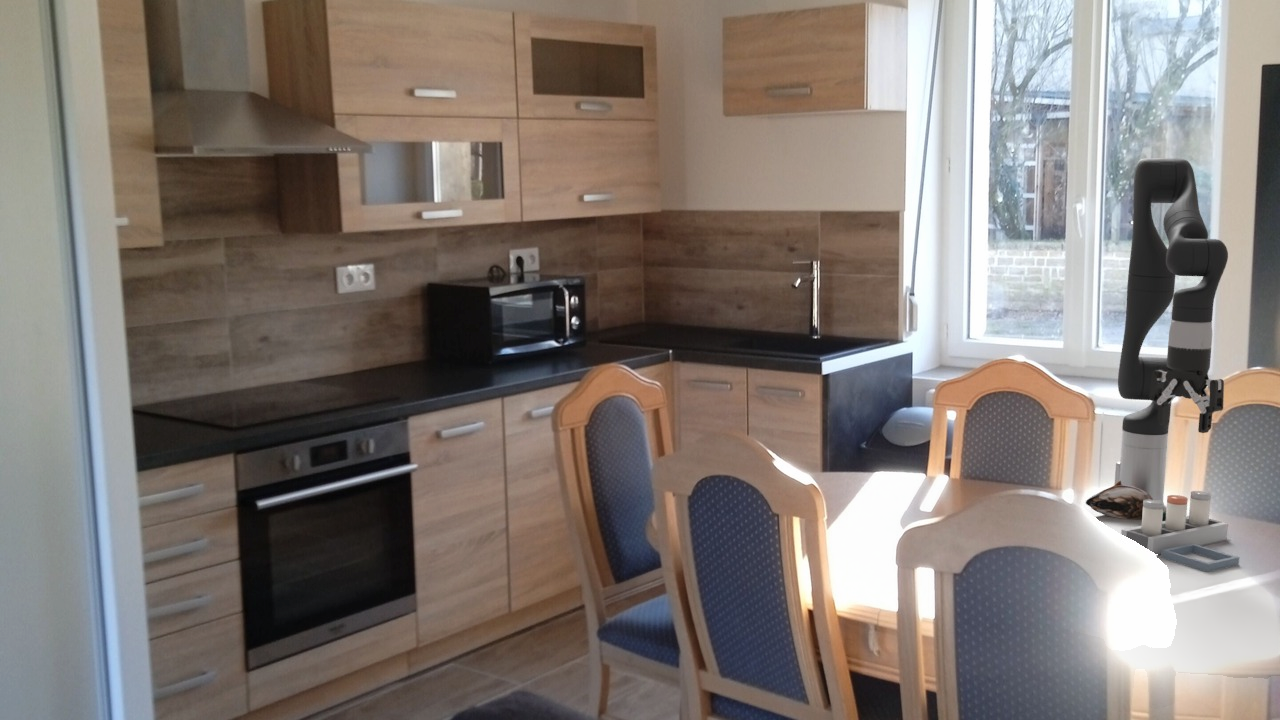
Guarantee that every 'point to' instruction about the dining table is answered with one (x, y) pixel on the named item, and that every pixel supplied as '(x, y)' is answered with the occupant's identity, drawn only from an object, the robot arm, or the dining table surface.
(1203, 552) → the tray
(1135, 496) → the decorative duck model
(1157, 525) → the fuse
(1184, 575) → the dining table surface
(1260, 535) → the dining table surface
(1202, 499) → the white domed part
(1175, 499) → the cylinder
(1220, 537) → the grey compartment rack
